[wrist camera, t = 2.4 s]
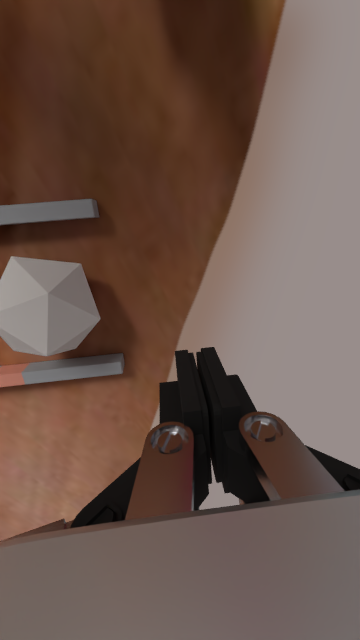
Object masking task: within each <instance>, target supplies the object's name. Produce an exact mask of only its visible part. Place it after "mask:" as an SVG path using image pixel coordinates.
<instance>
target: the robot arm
mask: <svg viewBox="0 0 360 640" xmlns="http://www.w3.org/2000/svg"><path fill="white" fill-rule="evenodd" d="M196 355H197V366H196V363H195V359H194V355H193V353H188V350H182V351H181V350H180V351H175V357H176V368H177V378H178V381H173V382H164V383H160V424H159V425H157V426H156V427H154V428H153V429H152V430H151V431H150V432H149V433H148V435H147V437H146V440H145V444H144V448H143V452H142V455H141V458H139V459H138V460H137V461H136V462H135V463H134V464H133V465H132V466H130V467H129V468H128V469H127V470H126V471H125V472H124V473H123V474H121V475H120V476H119V477H118V478H117V479H116V480H115V481H114V482H112V483H111V484H110V485H109V486H108V487H107V488H106V489H104V490H103V491H102V492H101V493H100V494H99V495H98V496H97V497H95V498H94V499H93V500H92V501H91V502H90V503H89V504H88V505H86V506H85V507H84V508H83V509H82V510H81V511H80V513H79V514H78V515H77V516H76V518H75V519H74V520H72V521H70V522H67V523H66V522H65V519H61V520H59V521H56V522H53V523H50V524H47V525H44V526H42V527H39V528H36V529H33V530H30V531H28V532H25V533H22V534H19V535H16V536H14V537H11V538H8V539H5V540H2V541H0V640H360V469H358V468H356V467H353V466H351V465H349V464H346V463H344V462H342V461H339V460H337V459H335V458H333V457H331V456H328V455H326V454H324V453H322V452H319V451H317V450H315V449H313V448H310V447H308V446H306V445H304V444H303V443H302V442H301V440H300V439H299V438H298V437H297V436H296V435H295V433H294V432H293V431H292V430H291V429H290V428H289V427H288V425H287V424H286V423H285V422H284V421H283V420H281V419H280V418H279V417H277V416H275V415H273V414H270V413H267V412H257V410H256V408H255V406H254V405H253V403H252V401H251V399H250V397H249V395H248V393H247V392H246V390H245V388H244V386H243V384H242V382H241V380H240V378H239V376H238V375H228V376H227V375H226V373H225V370H224V368H223V366H222V364H221V362H220V359H219V357H218V355H217V353H216V351H215V348H214V347H209V348H201V352H197V353H196ZM211 461H212V465H213V470H214V474H215V479H216V482H217V483H219V482H222V484H223V488H224V492H225V493H230V492H231V493H232V494H233V495H235V496H236V497H238V498H239V503H240V505H234V506H227V507H220V508H212V509H205V510H199V506H200V505H201V504H202V502H203V501H204V500H205V498H206V497H207V496H208V494H209V489H208V484H211V483H212V475H211Z"/></svg>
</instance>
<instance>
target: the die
mask: <svg viewBox="0 0 360 640" xmlns="http://www.w3.org/2000/svg"><path fill="white" fill-rule="evenodd" d="M100 319H101V318H100V315H99V313H98V310H97V307H96V304H95V302H94V299H93V296H92V293H91V290H90V288H89V285H88V282H87V279H86V276H85V274H84V271H83V268H82V265H81V264H80V263H70V262H61V261H51V260H42V259H32V258H23V257H13V256H11V258H10V260H9V262H8V264H7V267H6V269H5V271H4V273H3V275H2V278H1V280H0V336H1V337H2V339H3V340H4V341H5V342H6V343H7V344H8V345H9V346H10V347H11V348H12V349H13V351H18V352H24V353H30V354H36V355H42V356H50V355H54V354H57V353H61V352H65V351H69V350H72V349H76V348H77V347H78V345H79V344H80V343H81V342H82V341H83V339H84V338H85V337H86V336H87V335H88V333H89V332H90V331H91V330H92V329H93V328H94V326H95V325H96V324H97V323H98V322H99V320H100Z"/></svg>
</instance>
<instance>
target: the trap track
mask: <svg viewBox="0 0 360 640" xmlns="http://www.w3.org/2000/svg"><path fill="white" fill-rule="evenodd" d="M97 217H99V212H98V207H97V201H96V200H93V199H81V200H68V201H55V202H42V203H29V204H16V205H3V206H0V225H10V224H23V223H35V222H47V221H60V220H72V219H85V218H97ZM124 365H125V363H124V357H123V353H118V354H109V355H99V356H90V357H81V358H71V359H62V360H53V361H43V362H34V363H25V364H15V365H6V366H0V387H6V386H15V385H24V384H33V383H42V382H51V381H60V380H69V379H78V378H87V377H96V376H106V375H115V374H123V369H124Z"/></svg>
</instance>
